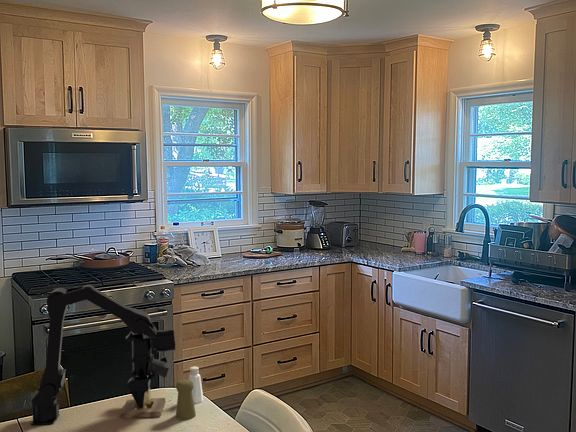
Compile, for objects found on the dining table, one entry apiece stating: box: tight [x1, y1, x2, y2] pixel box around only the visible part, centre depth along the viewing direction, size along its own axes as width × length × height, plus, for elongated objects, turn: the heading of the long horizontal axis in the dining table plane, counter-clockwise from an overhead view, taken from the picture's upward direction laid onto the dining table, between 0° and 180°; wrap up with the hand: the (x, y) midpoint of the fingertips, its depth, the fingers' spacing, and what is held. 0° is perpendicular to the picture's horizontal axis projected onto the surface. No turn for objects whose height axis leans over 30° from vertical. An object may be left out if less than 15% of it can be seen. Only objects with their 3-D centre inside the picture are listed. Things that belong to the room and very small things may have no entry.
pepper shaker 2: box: [188, 365, 204, 405], centre depth 187 cm, size 5×5×11 cm
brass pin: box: [136, 387, 152, 409], centre depth 179 cm, size 4×4×6 cm
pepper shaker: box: [175, 378, 197, 421], centre depth 175 cm, size 6×6×11 cm
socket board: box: [120, 397, 166, 419], centre depth 180 cm, size 12×11×2 cm
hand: (143, 402), depth 180 cm, fingers open, 9 cm apart
